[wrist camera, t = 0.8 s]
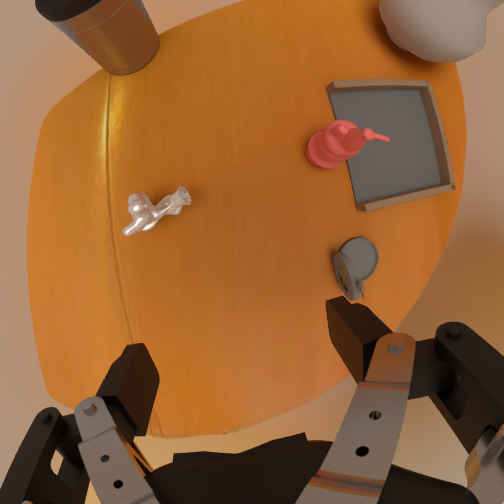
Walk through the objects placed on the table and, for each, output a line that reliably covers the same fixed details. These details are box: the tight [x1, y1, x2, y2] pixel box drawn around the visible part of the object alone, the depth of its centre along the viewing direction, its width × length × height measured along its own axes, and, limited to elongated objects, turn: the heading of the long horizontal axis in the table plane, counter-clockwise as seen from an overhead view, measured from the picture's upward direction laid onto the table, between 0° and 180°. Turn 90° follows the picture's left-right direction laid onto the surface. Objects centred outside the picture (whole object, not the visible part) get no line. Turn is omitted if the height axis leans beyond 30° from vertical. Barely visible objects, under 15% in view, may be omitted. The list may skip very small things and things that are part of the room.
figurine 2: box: [306, 119, 390, 168], centre depth 28 cm, size 5×5×15 cm
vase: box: [378, 0, 504, 62], centre depth 18 cm, size 17×16×28 cm
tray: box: [326, 79, 455, 212], centre depth 34 cm, size 18×18×3 cm
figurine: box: [123, 185, 192, 236], centre depth 30 cm, size 5×9×12 cm, turn 126°
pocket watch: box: [333, 237, 379, 300], centre depth 34 cm, size 8×8×10 cm
